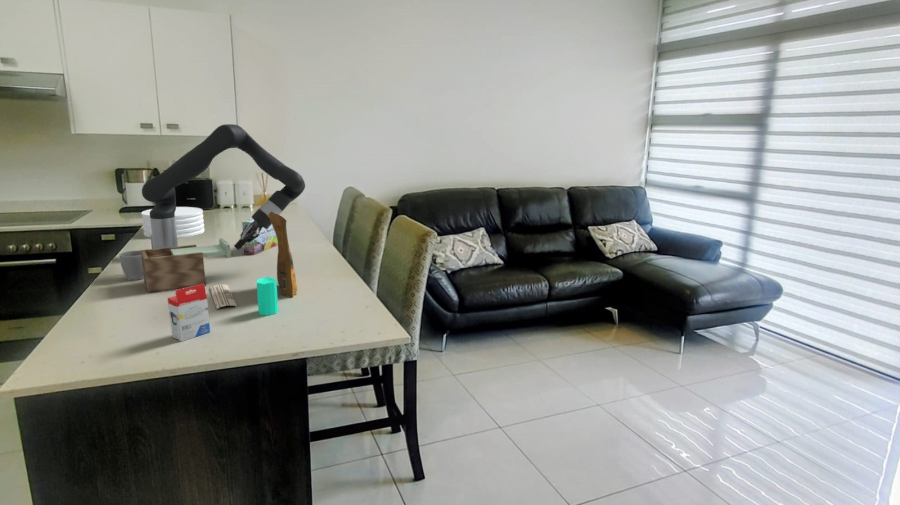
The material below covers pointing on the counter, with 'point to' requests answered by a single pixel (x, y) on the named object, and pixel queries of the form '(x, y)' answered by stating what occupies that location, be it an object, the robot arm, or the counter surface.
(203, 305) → the ink box
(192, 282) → the box
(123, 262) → the mug
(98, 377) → the counter surface
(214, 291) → the newspaper
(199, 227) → the plate stack
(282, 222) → the pancake mix bag
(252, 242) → the snack box
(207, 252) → the lid
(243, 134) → the robot arm
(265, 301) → the candle
